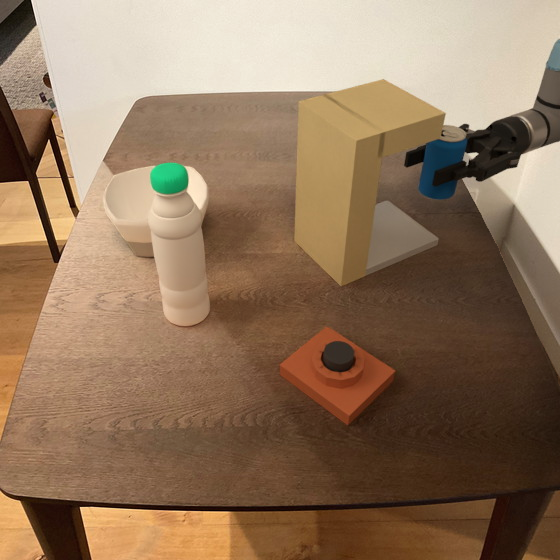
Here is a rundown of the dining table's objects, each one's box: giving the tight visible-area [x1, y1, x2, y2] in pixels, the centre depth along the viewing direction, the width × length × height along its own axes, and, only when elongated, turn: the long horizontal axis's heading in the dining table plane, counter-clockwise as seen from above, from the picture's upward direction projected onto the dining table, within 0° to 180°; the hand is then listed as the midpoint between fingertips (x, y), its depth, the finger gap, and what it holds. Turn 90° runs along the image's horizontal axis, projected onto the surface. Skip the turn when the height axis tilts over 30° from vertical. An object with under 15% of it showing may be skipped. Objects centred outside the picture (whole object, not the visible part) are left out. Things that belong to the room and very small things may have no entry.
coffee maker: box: [293, 78, 447, 287], centre depth 93 cm, size 14×21×26 cm, turn 122°
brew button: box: [323, 341, 354, 372], centre depth 76 cm, size 4×4×2 cm
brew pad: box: [279, 326, 396, 426], centre depth 78 cm, size 12×10×4 cm
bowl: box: [102, 165, 210, 258], centre depth 100 cm, size 18×18×9 cm
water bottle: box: [148, 162, 211, 327], centre depth 80 cm, size 7×7×25 cm
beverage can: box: [417, 124, 467, 202], centre depth 100 cm, size 6×6×12 cm
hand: (420, 169), depth 98 cm, fingers closed on beverage can, 6 cm apart
